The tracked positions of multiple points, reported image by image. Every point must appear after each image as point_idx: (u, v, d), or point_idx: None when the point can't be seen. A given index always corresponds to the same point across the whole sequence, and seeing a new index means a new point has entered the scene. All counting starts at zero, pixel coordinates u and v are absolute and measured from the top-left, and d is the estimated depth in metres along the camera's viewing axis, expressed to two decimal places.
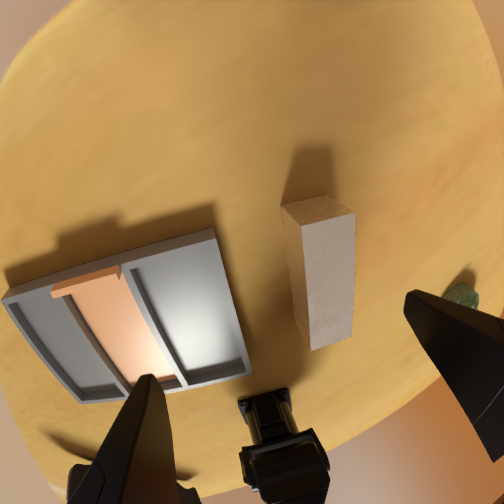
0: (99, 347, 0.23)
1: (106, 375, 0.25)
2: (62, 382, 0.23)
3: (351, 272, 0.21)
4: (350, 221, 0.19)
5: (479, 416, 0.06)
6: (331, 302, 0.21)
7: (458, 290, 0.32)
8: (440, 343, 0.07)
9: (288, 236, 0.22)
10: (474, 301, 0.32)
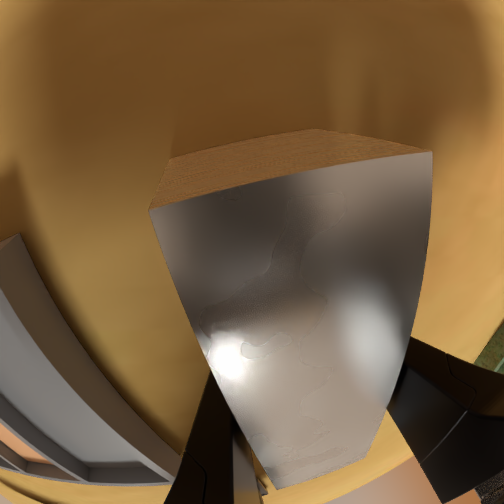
0: None
1: None
2: None
3: (392, 368, 0.06)
4: (416, 190, 0.04)
5: (425, 457, 0.05)
6: (323, 435, 0.07)
7: None
8: None
9: None
10: None
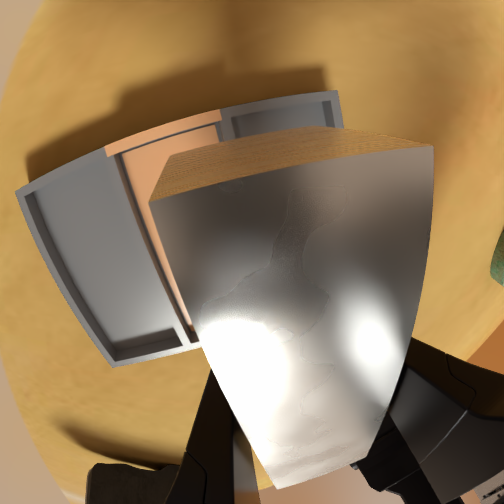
0: (155, 260, 0.18)
1: (156, 315, 0.20)
2: (89, 330, 0.18)
3: (394, 365, 0.06)
4: (418, 184, 0.04)
5: (425, 458, 0.05)
6: (324, 434, 0.06)
7: None
8: None
9: None
10: None
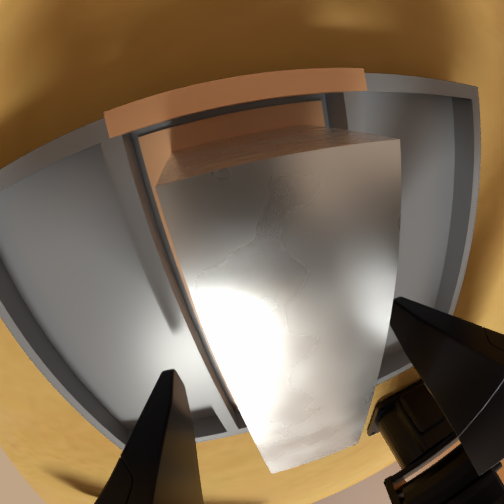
0: (195, 331, 0.10)
1: (188, 395, 0.12)
2: (87, 416, 0.10)
3: (376, 343, 0.06)
4: (385, 173, 0.04)
5: (464, 429, 0.06)
6: (314, 412, 0.07)
7: None
8: (424, 353, 0.07)
9: None
10: None
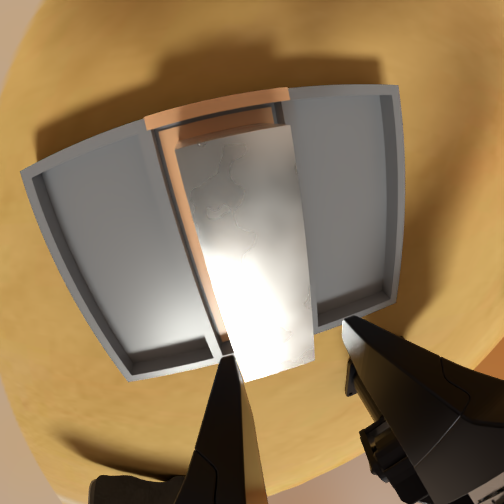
0: (190, 261, 0.15)
1: (184, 323, 0.17)
2: (103, 341, 0.15)
3: (299, 247, 0.11)
4: (282, 142, 0.09)
5: (419, 461, 0.05)
6: (266, 303, 0.12)
7: None
8: (375, 378, 0.07)
9: None
10: None
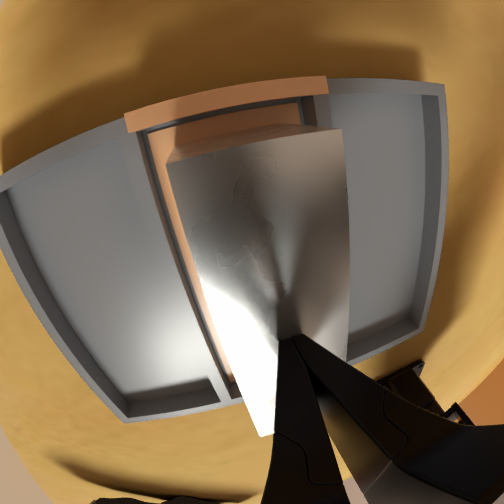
0: (192, 299, 0.12)
1: (185, 365, 0.14)
2: (92, 385, 0.12)
3: (340, 298, 0.08)
4: (330, 154, 0.06)
5: (366, 490, 0.05)
6: None
7: None
8: (319, 402, 0.07)
9: None
10: None
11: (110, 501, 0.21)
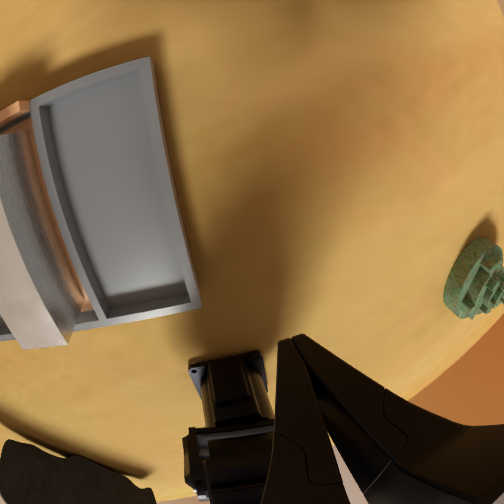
0: None
1: None
2: None
3: (7, 232, 0.10)
4: None
5: (366, 490, 0.05)
6: (3, 278, 0.11)
7: (481, 242, 0.24)
8: (319, 402, 0.07)
9: None
10: None
11: (16, 444, 0.22)
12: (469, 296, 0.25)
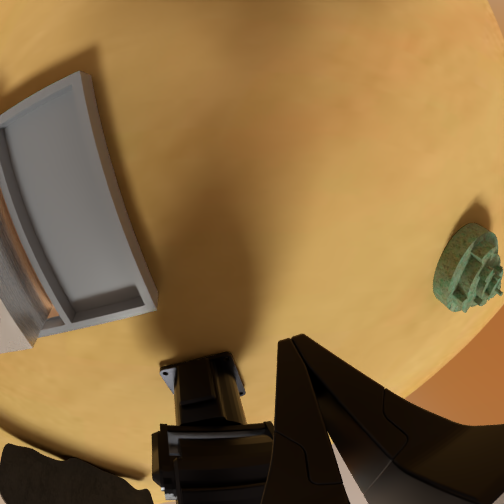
0: None
1: None
2: None
3: None
4: None
5: (366, 490, 0.05)
6: None
7: (471, 229, 0.23)
8: (319, 402, 0.07)
9: None
10: None
11: (15, 448, 0.22)
12: (461, 288, 0.23)
